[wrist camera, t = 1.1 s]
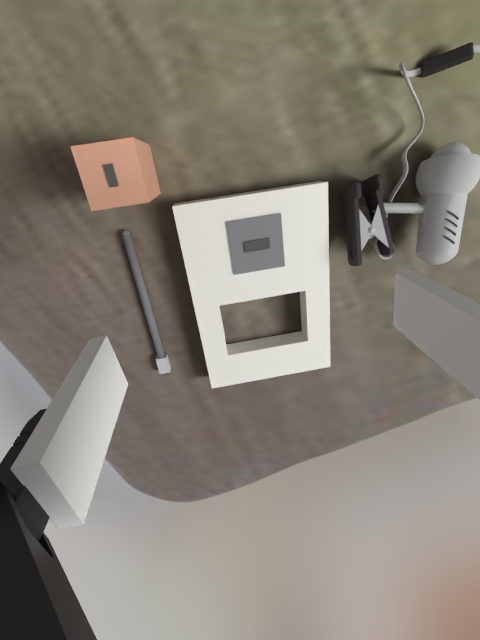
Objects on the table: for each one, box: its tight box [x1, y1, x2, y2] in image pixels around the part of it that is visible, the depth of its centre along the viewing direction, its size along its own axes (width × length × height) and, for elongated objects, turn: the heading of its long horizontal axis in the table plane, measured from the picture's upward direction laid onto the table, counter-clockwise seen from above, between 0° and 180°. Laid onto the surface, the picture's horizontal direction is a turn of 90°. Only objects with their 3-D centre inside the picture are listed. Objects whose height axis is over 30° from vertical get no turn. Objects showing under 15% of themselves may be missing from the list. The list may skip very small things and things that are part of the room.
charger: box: [70, 137, 161, 211], centre depth 25 cm, size 4×4×8 cm
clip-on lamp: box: [341, 42, 480, 266], centre depth 29 cm, size 12×6×18 cm
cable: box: [121, 230, 171, 374], centre depth 34 cm, size 16×1×1 cm, turn 8°
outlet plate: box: [172, 181, 330, 388], centre depth 34 cm, size 20×14×3 cm
